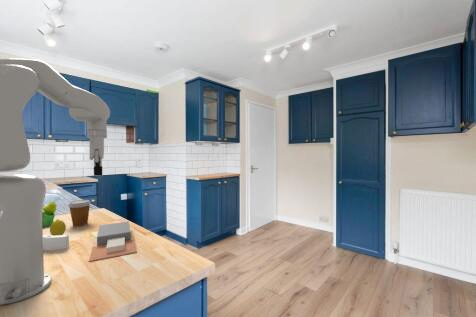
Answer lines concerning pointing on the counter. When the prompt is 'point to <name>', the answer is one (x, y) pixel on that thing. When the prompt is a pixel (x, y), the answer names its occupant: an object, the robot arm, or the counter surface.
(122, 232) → the grey block
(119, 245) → the tile
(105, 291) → the counter surface
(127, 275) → the counter surface
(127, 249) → the mat
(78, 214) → the disposable coffee cup
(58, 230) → the lemon
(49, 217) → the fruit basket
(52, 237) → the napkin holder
